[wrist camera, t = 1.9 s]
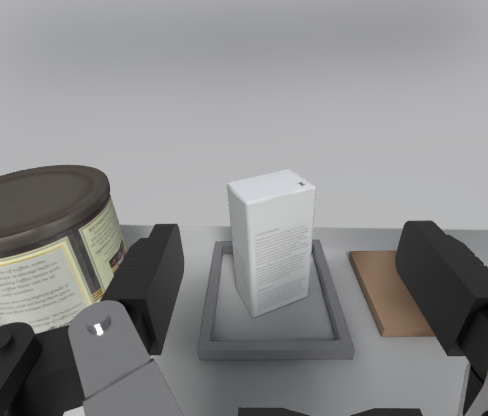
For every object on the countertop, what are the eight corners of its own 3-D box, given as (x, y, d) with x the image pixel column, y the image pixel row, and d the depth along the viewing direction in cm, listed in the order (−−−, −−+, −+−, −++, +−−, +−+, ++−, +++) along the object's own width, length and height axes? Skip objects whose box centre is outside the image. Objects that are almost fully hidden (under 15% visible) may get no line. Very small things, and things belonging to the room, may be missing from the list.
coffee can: (25, 318, 29) (-55, 182, 21) (138, 281, 32) (101, 154, 25) (8, 430, 21) (-131, 271, 13) (161, 362, 24) (116, 210, 17)
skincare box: (286, 270, 33) (290, 166, 27) (308, 297, 29) (319, 186, 23) (233, 288, 31) (225, 181, 25) (251, 320, 27) (247, 204, 21)
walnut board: (440, 257, 34) (443, 249, 33) (505, 335, 25) (510, 327, 25) (349, 258, 34) (350, 251, 34) (381, 336, 25) (384, 328, 25)
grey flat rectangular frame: (318, 247, 36) (319, 239, 35) (352, 359, 24) (354, 349, 23) (216, 249, 36) (215, 241, 36) (199, 359, 24) (197, 350, 24)
